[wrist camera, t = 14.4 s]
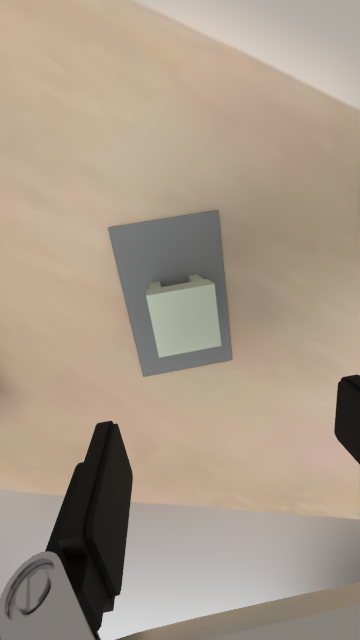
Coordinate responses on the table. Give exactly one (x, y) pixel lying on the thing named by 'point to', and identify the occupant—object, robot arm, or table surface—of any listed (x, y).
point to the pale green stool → (184, 316)
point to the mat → (170, 279)
